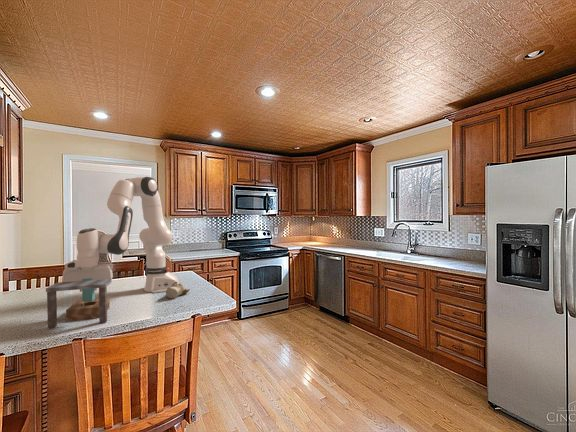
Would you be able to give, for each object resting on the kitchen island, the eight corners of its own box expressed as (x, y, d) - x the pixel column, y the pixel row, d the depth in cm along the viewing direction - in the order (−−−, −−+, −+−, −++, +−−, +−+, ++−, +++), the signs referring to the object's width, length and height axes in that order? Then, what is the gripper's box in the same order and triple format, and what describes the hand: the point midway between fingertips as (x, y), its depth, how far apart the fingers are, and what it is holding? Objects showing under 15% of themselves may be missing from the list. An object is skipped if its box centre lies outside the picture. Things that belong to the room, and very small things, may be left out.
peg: (94, 298, 143) (94, 276, 143) (92, 301, 139) (91, 278, 139) (85, 299, 142) (85, 277, 142) (82, 302, 138) (82, 279, 138)
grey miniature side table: (118, 306, 151) (117, 273, 151) (106, 323, 130) (105, 284, 129) (68, 311, 144) (67, 276, 144) (46, 329, 123) (45, 288, 122)
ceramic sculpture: (160, 283, 163) (174, 279, 178) (160, 299, 163) (174, 293, 178) (178, 284, 162) (191, 279, 177) (177, 300, 162) (190, 294, 176)
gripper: (114, 260, 147) (114, 287, 147) (66, 262, 140) (66, 290, 141) (111, 262, 141) (111, 290, 141) (60, 264, 134) (61, 294, 135)
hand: (88, 290), depth 141 cm, fingers closed on peg, 4 cm apart
